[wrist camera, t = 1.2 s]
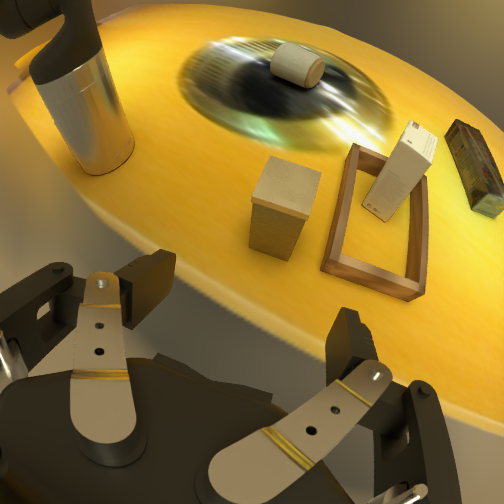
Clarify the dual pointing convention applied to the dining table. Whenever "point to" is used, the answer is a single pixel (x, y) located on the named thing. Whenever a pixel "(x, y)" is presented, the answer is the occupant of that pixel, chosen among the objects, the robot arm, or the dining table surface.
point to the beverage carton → (476, 169)
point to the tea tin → (281, 206)
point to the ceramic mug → (297, 65)
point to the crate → (418, 234)
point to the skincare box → (401, 171)
